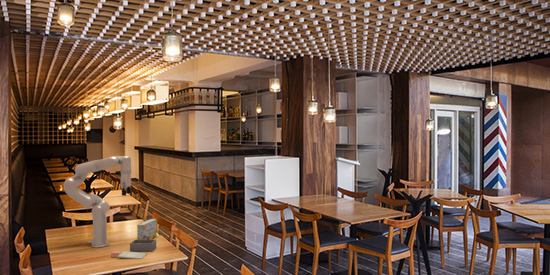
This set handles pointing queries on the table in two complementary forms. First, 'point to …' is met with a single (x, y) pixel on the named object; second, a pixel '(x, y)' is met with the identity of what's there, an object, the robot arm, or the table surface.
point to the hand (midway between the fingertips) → (126, 194)
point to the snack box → (147, 230)
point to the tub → (143, 246)
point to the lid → (128, 254)
